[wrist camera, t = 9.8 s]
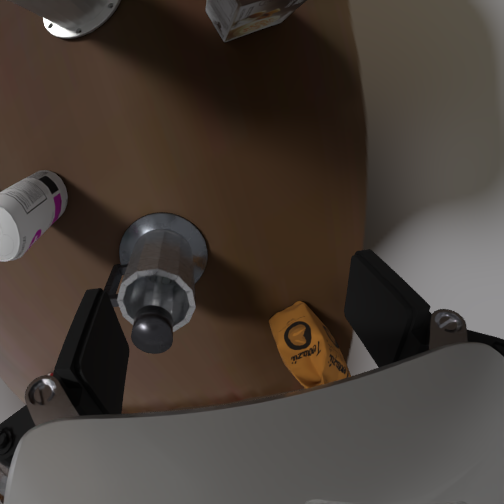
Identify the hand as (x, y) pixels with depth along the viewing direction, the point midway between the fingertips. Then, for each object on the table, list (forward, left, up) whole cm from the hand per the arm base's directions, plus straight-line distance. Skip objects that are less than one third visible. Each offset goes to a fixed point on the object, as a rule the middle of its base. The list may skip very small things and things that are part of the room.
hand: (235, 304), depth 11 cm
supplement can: (+1, -25, -34) cm, 42 cm away
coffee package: (+33, +14, -34) cm, 49 cm away
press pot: (+14, -8, -33) cm, 37 cm away
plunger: (+14, -8, -30) cm, 34 cm away
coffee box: (-21, +7, -34) cm, 40 cm away
